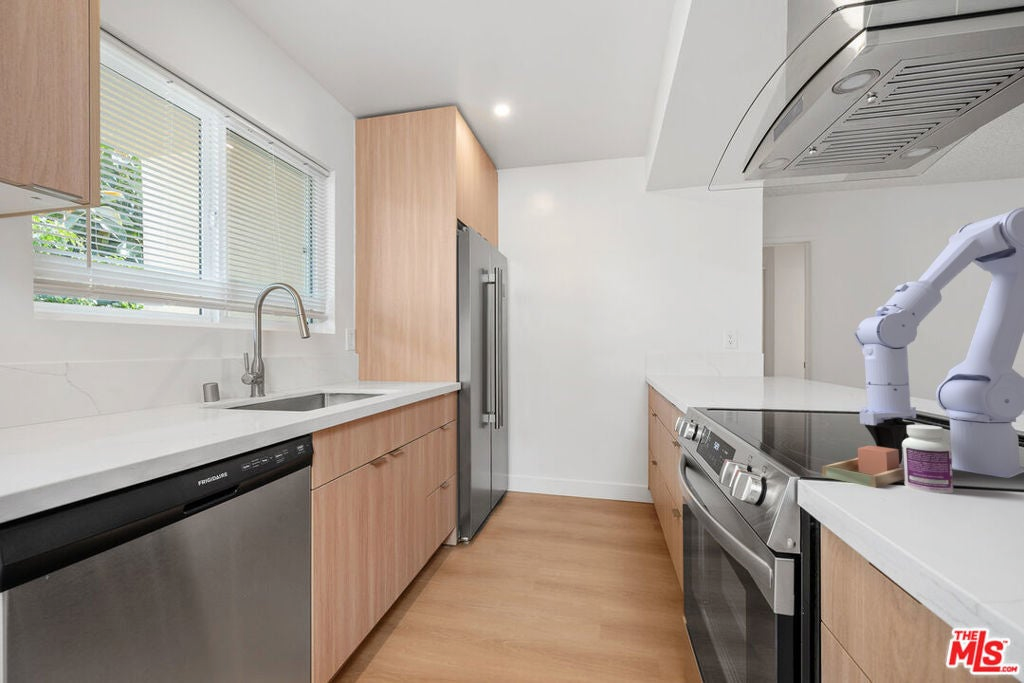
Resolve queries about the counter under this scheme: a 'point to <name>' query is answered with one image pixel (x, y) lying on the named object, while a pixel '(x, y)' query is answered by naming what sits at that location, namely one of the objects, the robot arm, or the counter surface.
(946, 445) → the pill bottle
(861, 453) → the red block
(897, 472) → the box
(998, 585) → the counter surface
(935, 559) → the counter surface
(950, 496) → the counter surface
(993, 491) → the counter surface
